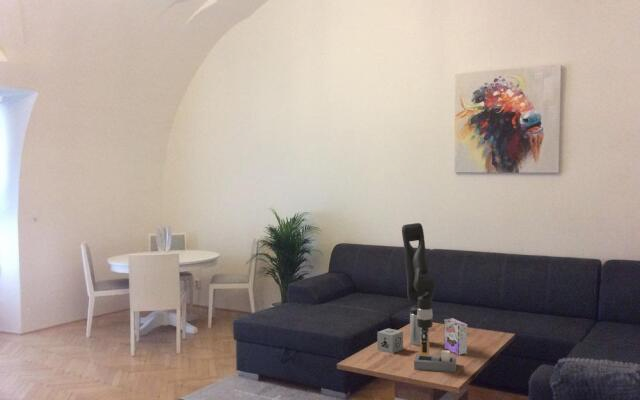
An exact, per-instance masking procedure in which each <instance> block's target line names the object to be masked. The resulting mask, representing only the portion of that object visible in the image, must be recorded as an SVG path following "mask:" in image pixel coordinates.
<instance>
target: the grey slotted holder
mask: <svg viewBox="0 0 640 400" xmlns="http://www.w3.org/2000/svg"><path fill="white" fill-rule="evenodd" d="M413 368H414V369H413V370H417V371H418V370H419V371H421V370H422V371H433V372H447V373H449V372H450V373H456V371H457V356H455V355H451V351H449V350H447V349H442V350H441V352H440V355H439V354H436V355H435V354H429V356H424V355H421V353H416V355H415V358H414V361H413Z"/></svg>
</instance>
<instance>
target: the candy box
mask: <svg viewBox="0 0 640 400" xmlns="http://www.w3.org/2000/svg"><path fill="white" fill-rule="evenodd" d="M443 320H444V323H443V324H444V329H443V330H444V350H447V351H450V353H453V354H455V355H457V356H463V355H464V356H465V355H467V354H468V324H467V323H465V322H462V321H459V320H458V319H455V318H453V317H451V318H445V319H443Z"/></svg>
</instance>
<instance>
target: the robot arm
mask: <svg viewBox="0 0 640 400" xmlns="http://www.w3.org/2000/svg"><path fill="white" fill-rule="evenodd" d="M401 234H402V242H403V249H404V264H405V272H406V273H405V274H406V291H407V293H406V294H407V299H408V301H410V302H417V305H414V306H412V307H410V309H409V324H410V325H409V326H410V327H409V329H410V330H409V333H410V334H409V335H410V336H409V337H410V340H409V341H410V344H411V345H415V346H421V344H422V352H423V353H427V340H429V338H430V329H431V328H432V327H433V298H434V297H433V296H434V292H435V289H436V280H435V279H434V278H433V277H431V276H430V277H427V276H426V275H428V274H429V270H430V269H429V266H428V265H429V264H428V261H427V253H426V244H425V243H426V242H425V234H424V228H423V225H422V224H421V223H420V222H415V223H407V224H403V225H402V227H401ZM416 241H417V242H418V246H417V248H416V249H415V248H414V247H413V246H412V244H411V242H416ZM425 276H426V277H425ZM421 340H422V343H421ZM423 341H425V342H423Z"/></svg>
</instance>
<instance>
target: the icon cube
mask: <svg viewBox="0 0 640 400" xmlns="http://www.w3.org/2000/svg"><path fill="white" fill-rule="evenodd" d="M376 335H377V337H376V338H377V341H376V343H377V351H379V350H380V352H384V353H387V354H391V355H393V354H395V353H397V352H400V351H403V349H404V332H403V330H398V329H392V328H386V329H383V330H380V331H377V333H376Z"/></svg>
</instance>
